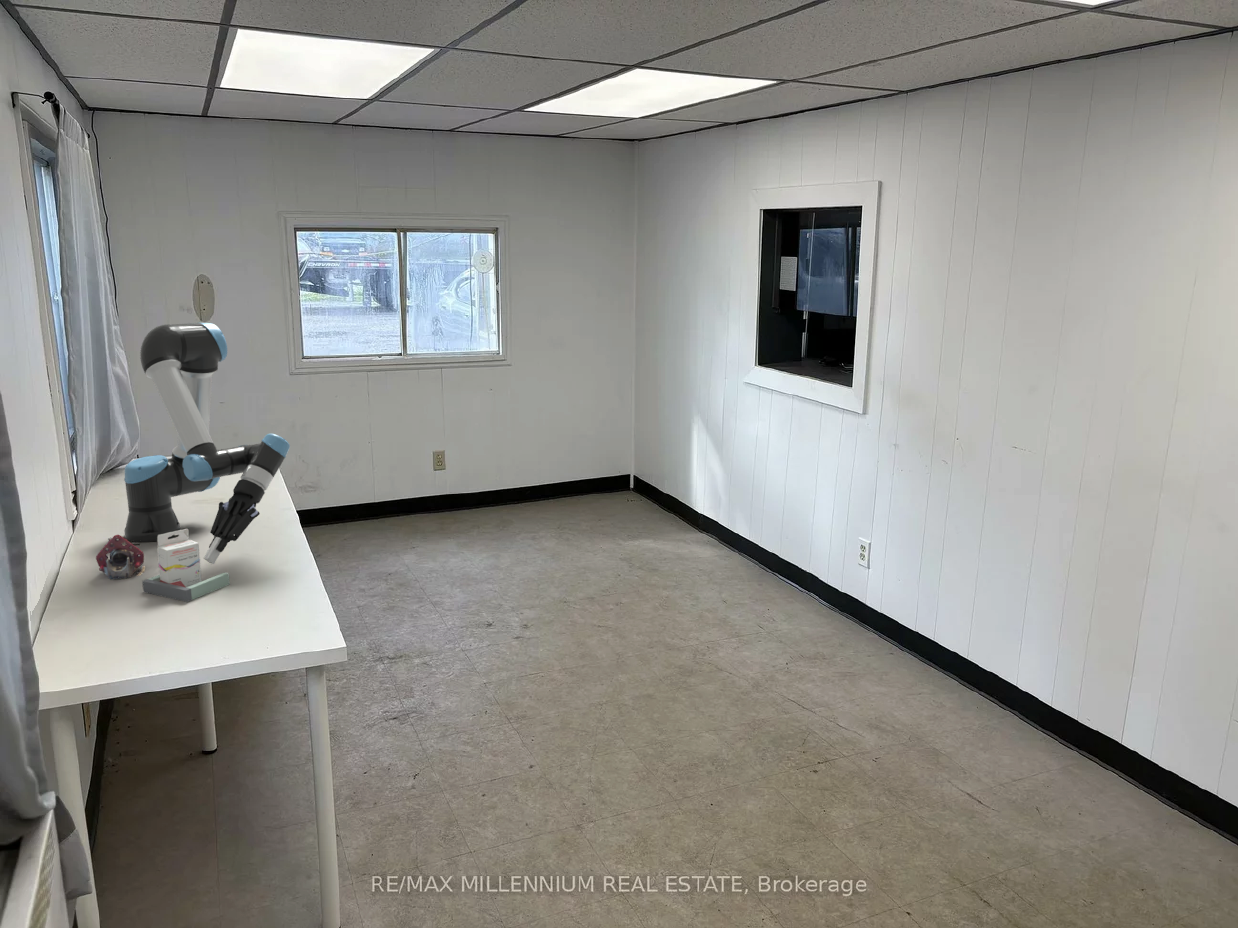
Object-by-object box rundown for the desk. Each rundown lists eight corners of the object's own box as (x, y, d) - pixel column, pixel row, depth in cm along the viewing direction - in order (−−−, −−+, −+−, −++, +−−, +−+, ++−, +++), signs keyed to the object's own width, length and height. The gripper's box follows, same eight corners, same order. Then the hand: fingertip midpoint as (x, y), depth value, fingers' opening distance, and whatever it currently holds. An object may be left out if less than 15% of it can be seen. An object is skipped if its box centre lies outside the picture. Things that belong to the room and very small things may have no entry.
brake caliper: (91, 576, 233) (93, 532, 237) (101, 588, 242) (102, 546, 247) (140, 571, 236) (141, 529, 241) (148, 584, 246) (148, 543, 251)
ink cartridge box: (170, 594, 228) (164, 539, 224) (160, 590, 231) (154, 535, 227) (203, 585, 235) (198, 531, 231) (193, 580, 237) (188, 527, 234)
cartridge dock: (143, 592, 229) (142, 580, 228) (187, 575, 241) (186, 564, 241) (187, 601, 223) (185, 590, 223) (229, 584, 236) (228, 573, 235)
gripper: (278, 495, 249) (235, 571, 238) (243, 489, 254) (199, 563, 243) (262, 481, 243) (218, 558, 232) (226, 475, 248) (181, 550, 237)
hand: (208, 561), depth 238 cm, fingers closed
